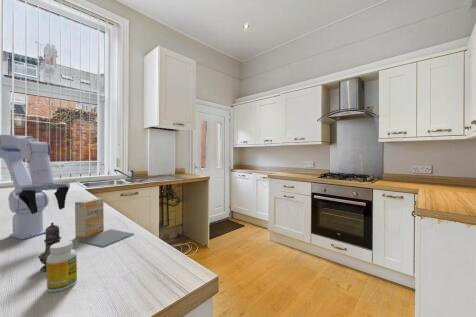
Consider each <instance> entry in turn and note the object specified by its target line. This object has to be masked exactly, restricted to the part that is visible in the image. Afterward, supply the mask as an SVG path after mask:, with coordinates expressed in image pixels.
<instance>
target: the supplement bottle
mask: <svg viewBox="0 0 476 317" xmlns="http://www.w3.org/2000/svg"><path fill="white" fill-rule="evenodd" d="M73 247H74V244H73V241H72V240H64V241H60V242H58V243H55V244H53V245H51V246H50V253H51V254H50V255H49V256H48V257H47V260H46V267H47V272H46V289H47V291H48V292H51V293H56V292H57V291H58V292H61V291H65V290H67V289H69V288H71V287H72V286H74V285H75V284H76V283H77V281H78V267H77V266H78V265H77V263H78V262H77V260H78V259H77V251H76V250H75V249H73Z"/></svg>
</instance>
